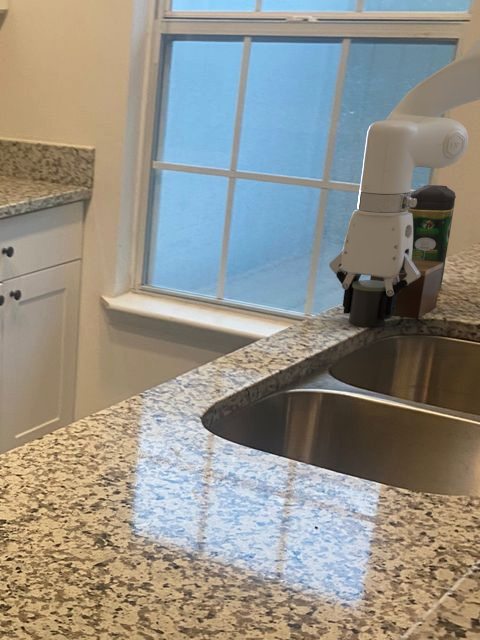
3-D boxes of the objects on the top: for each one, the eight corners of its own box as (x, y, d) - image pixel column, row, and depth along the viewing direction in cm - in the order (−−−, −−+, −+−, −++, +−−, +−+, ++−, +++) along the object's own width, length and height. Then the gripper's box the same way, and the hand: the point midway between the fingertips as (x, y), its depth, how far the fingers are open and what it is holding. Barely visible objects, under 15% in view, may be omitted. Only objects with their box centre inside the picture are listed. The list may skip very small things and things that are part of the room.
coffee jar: (398, 281, 200) (413, 182, 192) (442, 284, 197) (459, 183, 189) (392, 291, 192) (408, 188, 184) (438, 294, 189) (456, 190, 181)
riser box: (384, 301, 185) (391, 256, 182) (436, 308, 180) (443, 262, 177) (365, 311, 179) (372, 265, 176) (418, 318, 174) (425, 270, 170)
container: (373, 317, 175) (379, 279, 172) (392, 326, 169) (398, 286, 167) (340, 320, 174) (345, 281, 171) (358, 328, 169) (363, 288, 166)
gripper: (446, 205, 160) (428, 319, 168) (344, 196, 172) (331, 303, 179) (425, 211, 156) (407, 328, 163) (321, 201, 167) (308, 311, 175)
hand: (367, 314), depth 171 cm, fingers closed on container, 5 cm apart
